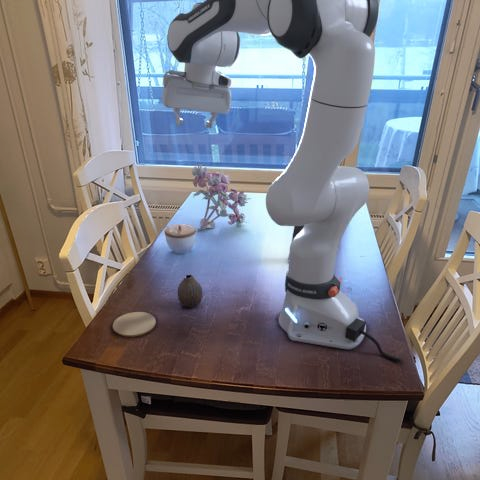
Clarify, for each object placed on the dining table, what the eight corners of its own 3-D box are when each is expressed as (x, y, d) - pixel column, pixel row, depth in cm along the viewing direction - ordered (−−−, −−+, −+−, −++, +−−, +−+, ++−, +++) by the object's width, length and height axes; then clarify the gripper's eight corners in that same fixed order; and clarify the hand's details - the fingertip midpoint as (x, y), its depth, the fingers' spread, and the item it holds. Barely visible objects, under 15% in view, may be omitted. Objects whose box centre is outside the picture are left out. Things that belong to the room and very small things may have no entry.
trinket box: (163, 246, 153) (161, 221, 148) (192, 242, 156) (190, 217, 151) (170, 258, 145) (167, 232, 140) (200, 253, 148) (199, 228, 143)
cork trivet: (164, 319, 113) (164, 318, 112) (138, 341, 104) (137, 339, 104) (131, 309, 117) (131, 308, 117) (103, 329, 109) (103, 328, 108)
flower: (228, 240, 154) (247, 171, 149) (175, 224, 161) (191, 158, 156) (246, 244, 173) (263, 183, 168) (198, 230, 179) (214, 170, 175)
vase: (199, 311, 116) (197, 283, 111) (175, 309, 117) (172, 281, 112) (205, 299, 122) (204, 271, 117) (182, 296, 123) (180, 269, 118)
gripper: (167, 70, 112) (163, 126, 120) (236, 81, 121) (228, 132, 129) (160, 66, 116) (157, 120, 124) (227, 77, 125) (220, 126, 133)
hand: (194, 126), depth 126 cm, fingers open, 8 cm apart
